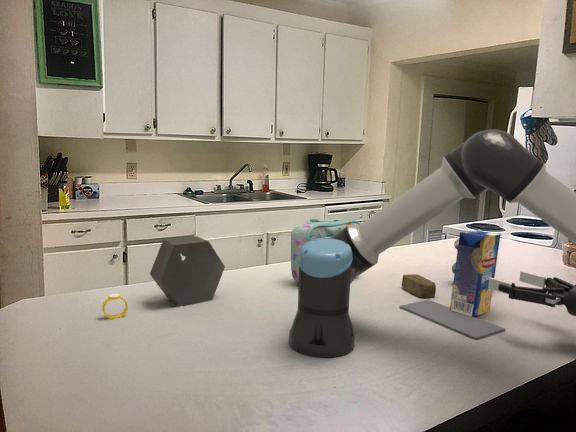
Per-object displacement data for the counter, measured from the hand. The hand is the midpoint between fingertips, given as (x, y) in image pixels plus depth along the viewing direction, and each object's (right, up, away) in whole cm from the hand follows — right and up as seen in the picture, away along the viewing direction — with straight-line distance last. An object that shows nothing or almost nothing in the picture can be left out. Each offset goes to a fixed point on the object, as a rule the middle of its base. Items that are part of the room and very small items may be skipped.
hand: (505, 279), depth 126 cm
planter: (-86, -8, +11) cm, 87 cm away
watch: (-101, -9, -4) cm, 101 cm away
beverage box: (-6, -10, +10) cm, 15 cm away
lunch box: (-44, -5, +34) cm, 56 cm away
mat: (-14, -11, +3) cm, 18 cm away
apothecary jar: (+3, -7, +33) cm, 34 cm away
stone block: (-16, -8, +25) cm, 31 cm away
